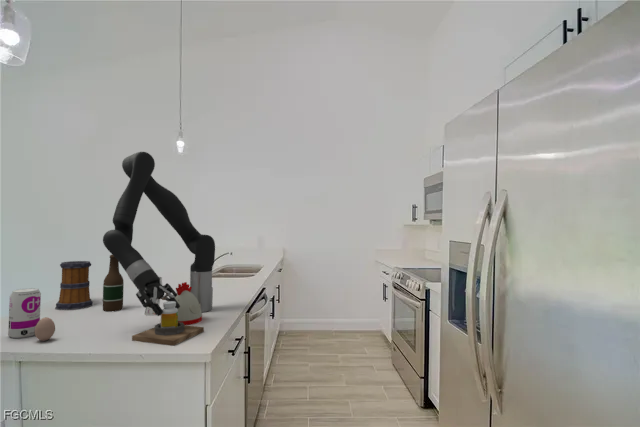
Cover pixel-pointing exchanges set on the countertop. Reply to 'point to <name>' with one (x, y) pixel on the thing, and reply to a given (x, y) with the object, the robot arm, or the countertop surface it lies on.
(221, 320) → the countertop surface
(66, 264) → the mug
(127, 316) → the countertop surface
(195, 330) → the socket board
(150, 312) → the beer glass
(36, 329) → the egg
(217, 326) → the countertop surface
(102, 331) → the countertop surface
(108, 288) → the beer bottle
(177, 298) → the kitchen timer
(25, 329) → the supplement can
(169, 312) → the supplement bottle
